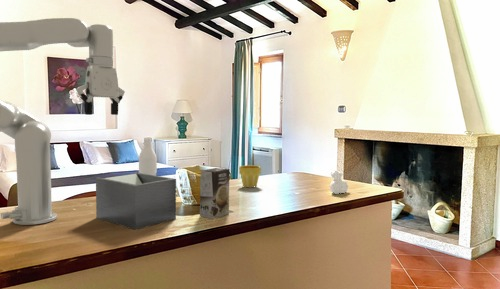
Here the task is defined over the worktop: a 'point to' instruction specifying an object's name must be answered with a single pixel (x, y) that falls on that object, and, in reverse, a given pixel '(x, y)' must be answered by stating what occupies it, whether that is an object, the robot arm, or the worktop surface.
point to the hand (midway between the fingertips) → (101, 114)
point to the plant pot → (249, 175)
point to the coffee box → (214, 193)
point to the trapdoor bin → (136, 201)
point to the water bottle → (147, 158)
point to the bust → (338, 183)
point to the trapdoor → (127, 179)
